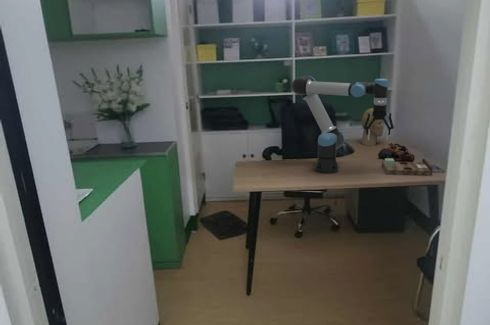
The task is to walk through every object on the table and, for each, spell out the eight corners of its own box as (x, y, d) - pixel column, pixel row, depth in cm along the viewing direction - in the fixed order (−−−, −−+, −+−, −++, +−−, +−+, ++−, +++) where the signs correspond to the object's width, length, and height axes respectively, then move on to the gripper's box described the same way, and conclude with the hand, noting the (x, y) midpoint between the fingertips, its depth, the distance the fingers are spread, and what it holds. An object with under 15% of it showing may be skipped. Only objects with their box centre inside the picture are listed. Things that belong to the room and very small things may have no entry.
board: (386, 174, 223) (386, 165, 221) (381, 165, 240) (382, 157, 239) (431, 175, 217) (432, 166, 216) (423, 166, 235) (424, 158, 234)
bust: (384, 146, 290) (387, 109, 282) (361, 146, 294) (363, 109, 286) (381, 141, 307) (384, 106, 299) (360, 141, 311) (361, 106, 303)
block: (385, 166, 228) (386, 160, 227) (384, 164, 233) (384, 158, 232) (393, 166, 227) (394, 160, 226) (392, 164, 232) (392, 158, 231)
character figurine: (388, 137, 260) (420, 146, 235) (392, 149, 265) (423, 159, 240) (370, 150, 257) (401, 161, 232) (375, 162, 262) (405, 174, 237)
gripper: (361, 105, 220) (359, 140, 226) (401, 105, 215) (398, 141, 221) (359, 103, 227) (358, 138, 233) (398, 103, 222) (395, 138, 228)
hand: (377, 139), depth 227 cm, fingers open, 10 cm apart
